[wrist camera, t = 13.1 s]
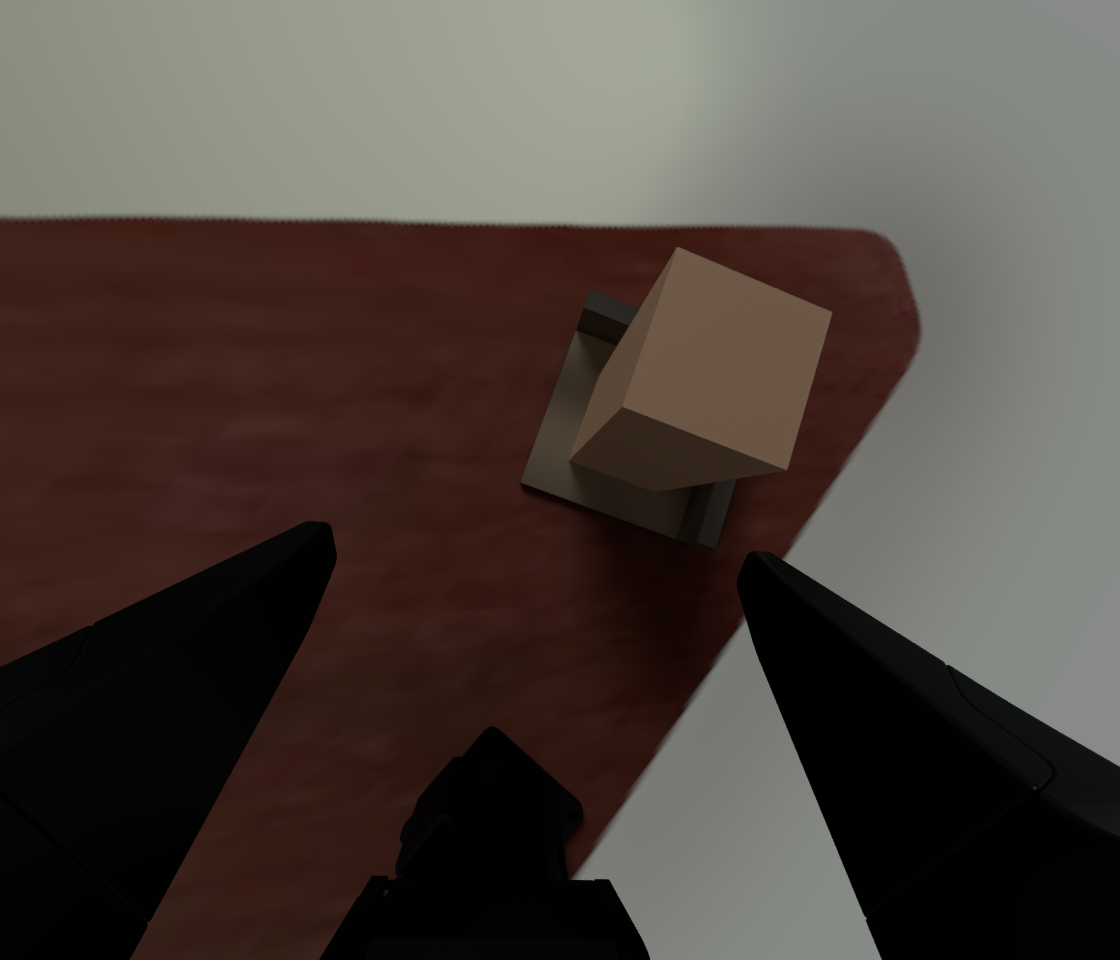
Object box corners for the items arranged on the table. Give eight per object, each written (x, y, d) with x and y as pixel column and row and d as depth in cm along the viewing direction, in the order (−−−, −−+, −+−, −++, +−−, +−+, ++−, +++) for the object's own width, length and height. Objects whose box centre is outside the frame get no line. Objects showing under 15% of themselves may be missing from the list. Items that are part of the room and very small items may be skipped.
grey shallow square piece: (690, 544, 23) (715, 548, 20) (520, 482, 22) (521, 478, 19) (740, 381, 24) (771, 362, 21) (581, 317, 23) (590, 289, 20)
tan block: (654, 492, 22) (786, 470, 12) (568, 460, 22) (622, 406, 11) (681, 408, 23) (832, 312, 12) (598, 376, 23) (677, 246, 12)
